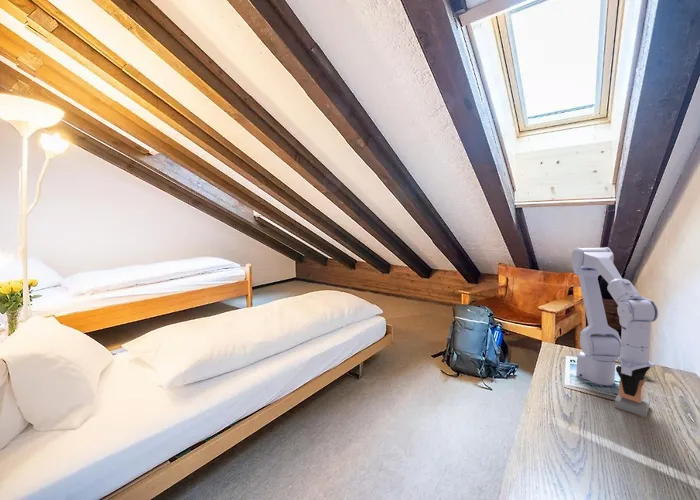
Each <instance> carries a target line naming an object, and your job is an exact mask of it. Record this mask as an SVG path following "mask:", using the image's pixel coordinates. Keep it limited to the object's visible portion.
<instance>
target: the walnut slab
mask: <svg viewBox="0 0 700 500" xmlns="http://www.w3.org/2000/svg"><path fill="white" fill-rule="evenodd" d="M614 406H615V401H614V402H613V404H612V405H611V407H612V408H615V409H618V410H620V411H623V412H626V413H629V414H631V415H633V416H637V417H640V418H642V419H646V418H647V416H648V415H649V413H650V412H651V410H652V407H650V406H649V410H648V412H647V415H646V417H644V416H641V415H638V414H635V413H632V412H629V411H626V410H623V409H620V408H617V407H614Z"/></svg>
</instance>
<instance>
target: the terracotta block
mask: <svg viewBox="0 0 700 500" xmlns="http://www.w3.org/2000/svg"><path fill="white" fill-rule="evenodd" d="M646 383H647V382H646V380H644V379H643V380H640V382H639V385H638V388H637V392H636V394H635V396H631V395H628V394H625V393H624V390H623V386H622V382H621V379H619V385H618V393H619V396H621V397H624V398H627V399H630V400H633V401H636V402H639V403H641V402H642V400H643V399H644V398H645V397H646Z"/></svg>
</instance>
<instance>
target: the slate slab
mask: <svg viewBox="0 0 700 500" xmlns="http://www.w3.org/2000/svg"><path fill="white" fill-rule="evenodd" d="M614 402H615V406H614V407H613V408H615V407H617V408H620V409H623V410H626V411H629V412H632V413H635V414H638V415H641V416H644V417H646V418H647V416H648V415H647V412H648V410H649V407H650V403H651V400H650V399H647V398H645V397H644V399H643V400H642V402H641V403H639V402H636V401H633V400H630V399H627V398H624V397H621V396H619V392H617V394H616V397H615V399H614ZM617 408H616V409H617ZM620 409H619V410H620ZM623 410H622V411H623ZM646 415H647V416H646Z"/></svg>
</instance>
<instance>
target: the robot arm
mask: <svg viewBox="0 0 700 500" xmlns="http://www.w3.org/2000/svg"><path fill="white" fill-rule="evenodd" d="M614 258H615V257H614V253H613V251H612V250H611V248H610V247H607V246H604V247H583V248H582V247H575V248H574V249H573V250H572V253H571V257H570V261H571V265H572V270H573V274H575V275H576V276H578V279H579V285H580V289H581V295H582V300H583V304H584V305H583V306H584V309H585V311H584V312H585V316H586V320H587V326H586V327H585V328H583V329H581V331H580V332H579V334H580V335H579V336H580V339H579V345H580V349H581V351H580V352H578V355H577V359H576V373H575V374H576V377H579V378H582V379H585V380H587V381H589V382H592V383H594V384H598V385H601V386H602V385H603V386H612V385H614V384H615V378H616V377H615V376H616V375H615V374H616V373H617V375H618V377H619V378H620V379H621V382H622V386H623V390H624V393H625V394H628V395H631V396H635V394H636V392H637V388H638V385H639V382H640V380H643V381H644V379H645V376H646V374H647V372H648V371H649V370H650V369H651V368H654V367H655V365H656V364H655V363H654V362H652V361H650V360H649V356H650V342H651V341H650V340H651V329H652V327H651V326H652V322H656V320H657V319H658V316H659V310H658V307H657V305H656V303H655V302H654V300H652V299H648V298H647V297H645V296H642V295H641V293H640V292H639V291H638V290H637V288H636V287H635V286H634V284H632V282H631V281H630V279H626V278H623V277H622V276H621V274H620V272H619V271H618V269H617V267H616V266H615V264H614ZM599 276H601V277H602V278H603V279H604V280H605V281H606V282H607V287H606V288H607V289H606V290H607V291H608V293H609V294H610V296H611V297H612V299H613V300H614V302H615V303H616V305H617V307H616V310H617V316H618V319H619V325H620V326H621V331H620V332H621V336H620V335H619V331H617V329H614V328H612V327H611V326H610V325H609V324H608V320H607V314H606V310H605V305H604V302H603V296H602V291H601V288H600V283H599V280H598V279H599ZM618 360H620V363H621V365H622V366H621V365H616V363H615V361H618ZM620 379H619V380H620Z"/></svg>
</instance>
